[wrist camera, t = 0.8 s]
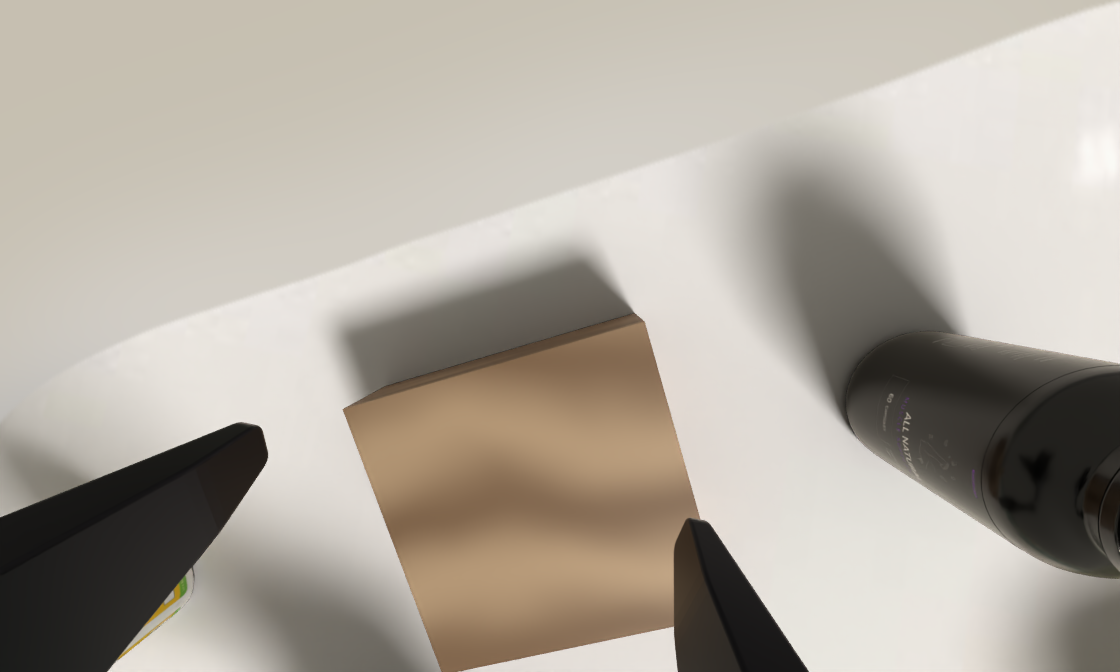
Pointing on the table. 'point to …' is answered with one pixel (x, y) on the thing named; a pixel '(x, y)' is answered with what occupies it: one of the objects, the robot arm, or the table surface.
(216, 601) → the table surface
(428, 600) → the block
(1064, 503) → the supplement bottle
